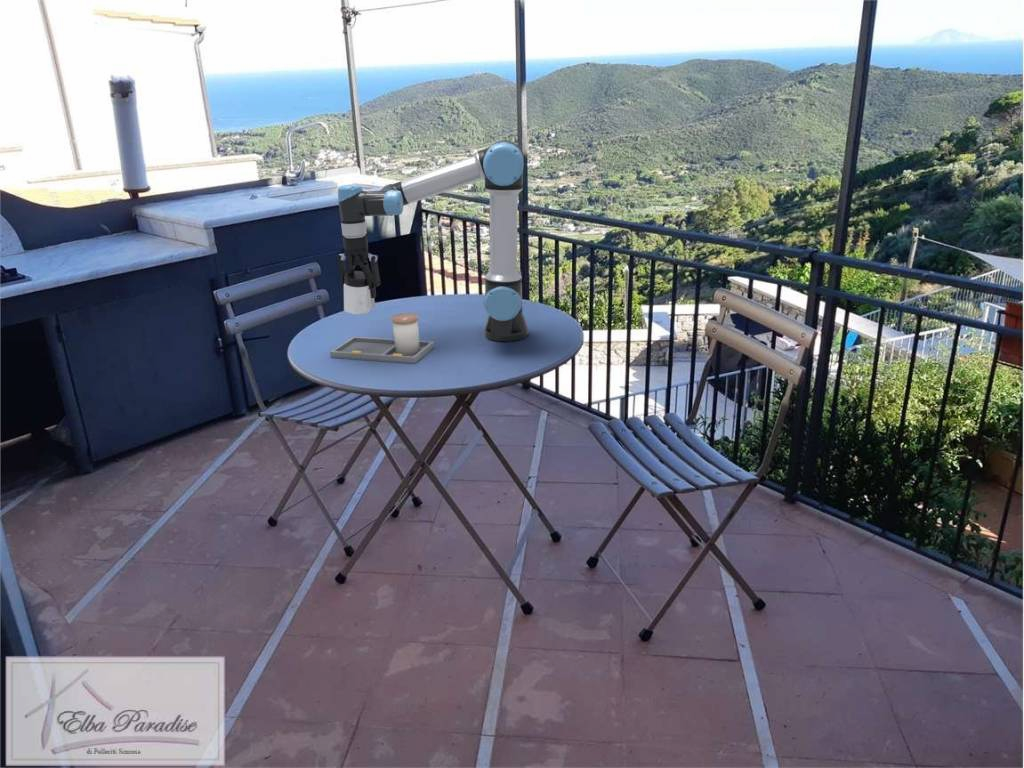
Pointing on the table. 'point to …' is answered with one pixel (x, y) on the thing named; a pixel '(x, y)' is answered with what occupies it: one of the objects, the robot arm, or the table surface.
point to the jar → (356, 293)
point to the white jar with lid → (406, 334)
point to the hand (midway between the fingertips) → (362, 306)
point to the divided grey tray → (377, 350)
